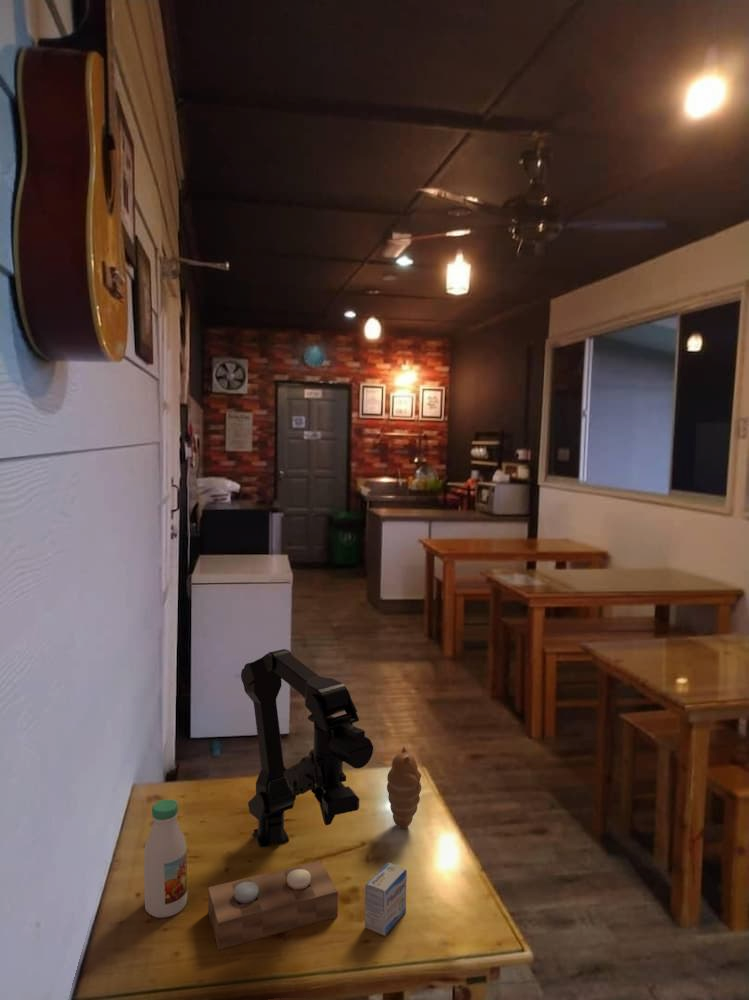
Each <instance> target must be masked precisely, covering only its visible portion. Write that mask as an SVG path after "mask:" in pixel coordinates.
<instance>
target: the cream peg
mask: <svg viewBox="0 0 749 1000" xmlns="http://www.w3.org/2000/svg"><path fill="white" fill-rule="evenodd" d="M310 882H311V875H310V873H309V872H308V871H306V870H303V869H296V870H293V871H291V872H290V873H289V874H288V875H287V884H288V886H289V887H291V889H292V891H295V890H299V889H303V888H306V887H307V886H308V885H309V884H310Z"/></svg>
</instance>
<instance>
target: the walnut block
mask: <svg viewBox="0 0 749 1000" xmlns="http://www.w3.org/2000/svg"><path fill="white" fill-rule="evenodd" d="M296 869H303V870H306V871H308V872H309V873H310V875H311V882H310V884H309V885H308V886H307V887H306V888H303V889H299V890H295V891H292V889H291V887H289V886H288V884H287V875H288V874H289V873H290V872H291V871H293V870H296ZM243 882H253V883H255V884H257V886H258V897H257V898H256V899H255V900H254V901H252V902H248V903H244V904H240V905H238V901H236V900H235V898H234V889H235V887H236V886H237V885H238V884H240V883H243ZM207 896H208V898H207V902H208V903H207V906H208V907H207V911H208V912H207V913H208V916H209V919H210V920H209V921H210V924H211V928H212V932H213V935H214V938H215V942H216V946H217V950H219V949H220V950H223V949H225V948H226V949H227V948H231V947H232V946H233V947H234V946H237V945H241V944H244V943H248V942H252V941H255V940H258V939H259V940H260V939H262V938H265V937H270V936H273V935H276V934H280V933H284V932H287V931H291V930H294V929H298V928H301V927H305V926H308V925H309V926H310V925H312V924H316V923H320V922H324V921H327V920H331V919H334V918H338V915H339V914H338V912H339V911H338V909H339V904H338V903H339V902H338V901H339V891H338V890H337V887H336V885H335V884H334V882H333V881H332V878H331V877H330V875H329V873H328V871H327V869H326V867H325V866H324V864H323V863H322V861H321V860H316V861H312V862H308V863H303V864H298V865H296V866H291V867H288V868H284V869H283V868H282V869H280V870H275V871H271V872H267V873H263V874H262V873H261V874H258V875H254V876H250V877H246V878H243V879H242V878H241V879H237V880H235V881H234V880H233V881H230V882H225V883H221V884H217V885H212V886H209V887H208V888H207ZM220 950H219V951H220Z"/></svg>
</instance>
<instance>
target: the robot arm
mask: <svg viewBox="0 0 749 1000" xmlns="http://www.w3.org/2000/svg"><path fill="white" fill-rule="evenodd" d="M240 679H241V682H242V684H243V688H244V689H243V690H244V693H245V694H246V695H247V696H248V697H249V698H250V700H251V701H252V703H253V708H254V718H255V724H256V725H255V726H256V734H257V735H256V736H257V743H258V750H259V758H260V769H261V770H260V771H259V774H258V777H257V779H256V782H255V795H254V796H253V797H252V798H251V799H250V800H249V801H248V803H247V806H248V812H249V814H251V815H252V816H253V817H254V818H255V819H256V820H257V826H258V827H257V828H256V829H253V835H254V836H255V839H256V842H257V843H258V846H259V847H260V848H266V847H270V846H275V845H279V844H282V843H283V844H284V843H288V842H289V840H290V837H289V836H288V834H287V832H286V830H285V812H286V811H289V810H292V809H293V808H294V806H295V801H296V800H297V796H299V795H303V794H305V793H308V792H309V791H311V792H312V794H313V795H314V797H315V799H316V801H317V802H318V804H319V807H320V811H321V815H322V819H323V823H324V824H325V826H329V825H331V824H332V822H333V821H334V818H335V816H337V815H341V814H347V813H351V812H355V811H358V810H359V809H360V798H359V796H358V795H357V794H356V792H355V791H354V790H353V788H351V787H350V786H345V784H344V783H345V782H346V781H347V776H346V775H347V774H345V772H344V771H343V770H344V763H345V764H347V765H348V766H350V767H352V768H354V769H361V768H364V767H365V766H367V764H368V763H369V762H370V760H371V759H372V756H373V753H374V745H373V742H372V740H371V739H370V738H368V737H366V732H365V730H364V729H362V728H360V727H357V726H355V725H353V724H355V723H357V722H360V719H359V716H358V714H357V713H358V710H357V708H356V705H355V704H354V701H353V700H352V696H351V694H350V692H349V690H348V688H347V686H346V685H345V684H344V683H343V682H341V681H339V680H337V679H334V678H332V677H326V676H325V677H324V676H320V675H318V673H316V672H314V671H313V670H312V669H311V668H309V667H308V666H306V665H305V664H304V663H303V662H301V661H300V660H299V659H297V658H296V657H295V656H293V655H292V653H291V651H290V650H289V649H285V648H283V649H279V650H274V651H269V652H267V653H266V654H265V655H263V656H262V657H260V658H259V659H256V660H255V661H253V662H252V661H251V662H248V663H246V664H245V665H244V666H243V668H242V670H241V672H240ZM282 680H283V681H284V682H286V684H288V685H289V686H291V688H293V689H294V690H295V691H296V692H298V693H299V694H300V695H301V696H302V697H303V699H304V706H305V708H306V709H307V710H308V711H309V712H310V714H309V715H308V716H307V719H308V721H310V722H311V723H313V749H310V752H308V755H307V756H303V757H302V758H301V760H300V761H299V762H298V763H297V764H295V765H293V766H290V767H289V768H286V766H285V762H284V755H283V746H282V739H281V738H282V737H281V730H280V721H279V712H278V704H277V698H278V697H279V694H280V691H281V688H282ZM343 712H345V713H344V714H341V715H338V716H334V715H337V714H340V713H343ZM343 782H344V783H343Z"/></svg>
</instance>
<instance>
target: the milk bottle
mask: <svg viewBox="0 0 749 1000" xmlns="http://www.w3.org/2000/svg"><path fill="white" fill-rule="evenodd" d="M178 810H179V806H178V802H177V801H176V800H173V799H166V798H165V799H161V800H158V801H156V802H155V803H154V804H153V805H152V808H151V815H152V816H151V817H152V820H153V821H152V822H153V823H152V826H151V830H150V832H149V834H148V836H147V839H146V841H145V846H144V850H143V851H144V854H143V855H144V858H143V862H144V863H143V868H144V869H143V871H144V872H143V876H144V877H143V878H144V880H143V882H144V909H145V911H146V913H147V912H148V913H149V914H150V915H149V914H148V913H147V914H148V915H149V916H151V915H152V916H151V917H153V916H154V917H153V918H157V919H159V918H160V919H163V918H164V919H165V918H170V917H172V916H174V915H177V914H178V913H180V912H182V910H184V908H185V906H186V904H187V902H188V859H187V858H188V852H187V851H188V850H187V843H186V842H187V841H186V837H185V834H184V832H183V831H182V828H181V827H180V824H179V822H178V818H177V817H178Z"/></svg>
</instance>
